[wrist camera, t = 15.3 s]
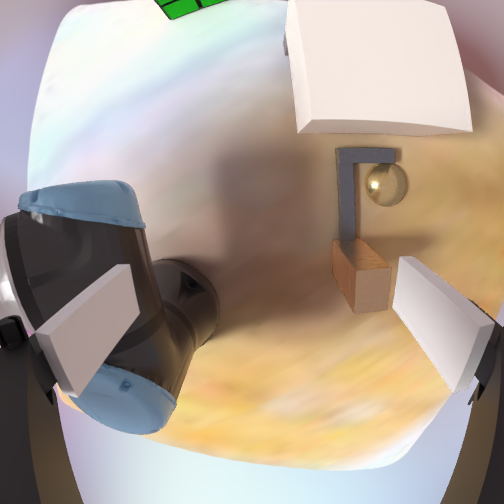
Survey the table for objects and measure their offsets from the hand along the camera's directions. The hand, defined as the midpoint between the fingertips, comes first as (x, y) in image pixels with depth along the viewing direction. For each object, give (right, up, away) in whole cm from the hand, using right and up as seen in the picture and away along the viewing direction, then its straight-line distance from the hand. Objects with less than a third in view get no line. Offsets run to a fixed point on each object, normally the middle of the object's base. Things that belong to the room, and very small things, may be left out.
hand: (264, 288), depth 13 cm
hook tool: (+15, +7, +25) cm, 30 cm away
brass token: (+18, +11, +23) cm, 31 cm away
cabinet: (+12, +24, +19) cm, 33 cm away
